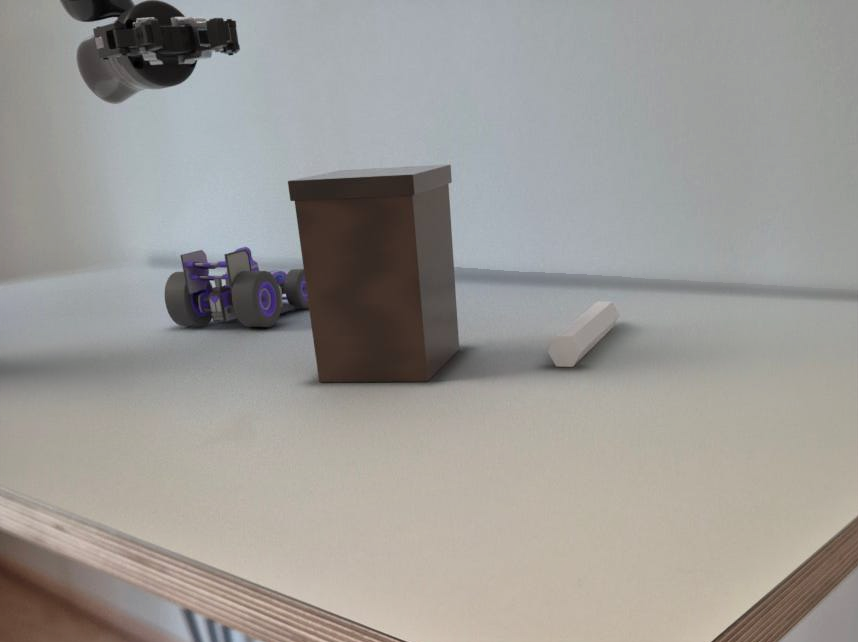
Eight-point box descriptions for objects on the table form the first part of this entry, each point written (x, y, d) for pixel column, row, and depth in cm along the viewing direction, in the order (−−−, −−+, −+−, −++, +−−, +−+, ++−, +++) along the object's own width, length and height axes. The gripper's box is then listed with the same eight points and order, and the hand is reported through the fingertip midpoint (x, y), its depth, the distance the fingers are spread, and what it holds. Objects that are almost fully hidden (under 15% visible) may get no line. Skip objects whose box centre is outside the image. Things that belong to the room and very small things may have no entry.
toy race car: (335, 301, 98) (326, 232, 95) (259, 332, 86) (246, 254, 83) (254, 301, 102) (243, 234, 98) (169, 331, 89) (154, 256, 86)
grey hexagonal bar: (613, 330, 82) (568, 374, 69) (592, 317, 82) (543, 358, 69) (629, 302, 80) (586, 341, 67) (608, 289, 80) (561, 325, 67)
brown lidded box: (311, 383, 68) (282, 181, 62) (357, 350, 77) (336, 170, 71) (429, 382, 67) (412, 174, 60) (462, 348, 75) (450, 164, 69)
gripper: (71, 5, 96) (98, -18, 83) (213, 3, 102) (260, -18, 88) (89, 92, 100) (118, 83, 86) (226, 85, 105) (273, 76, 92)
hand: (190, 32), depth 88 cm, fingers open, 5 cm apart
